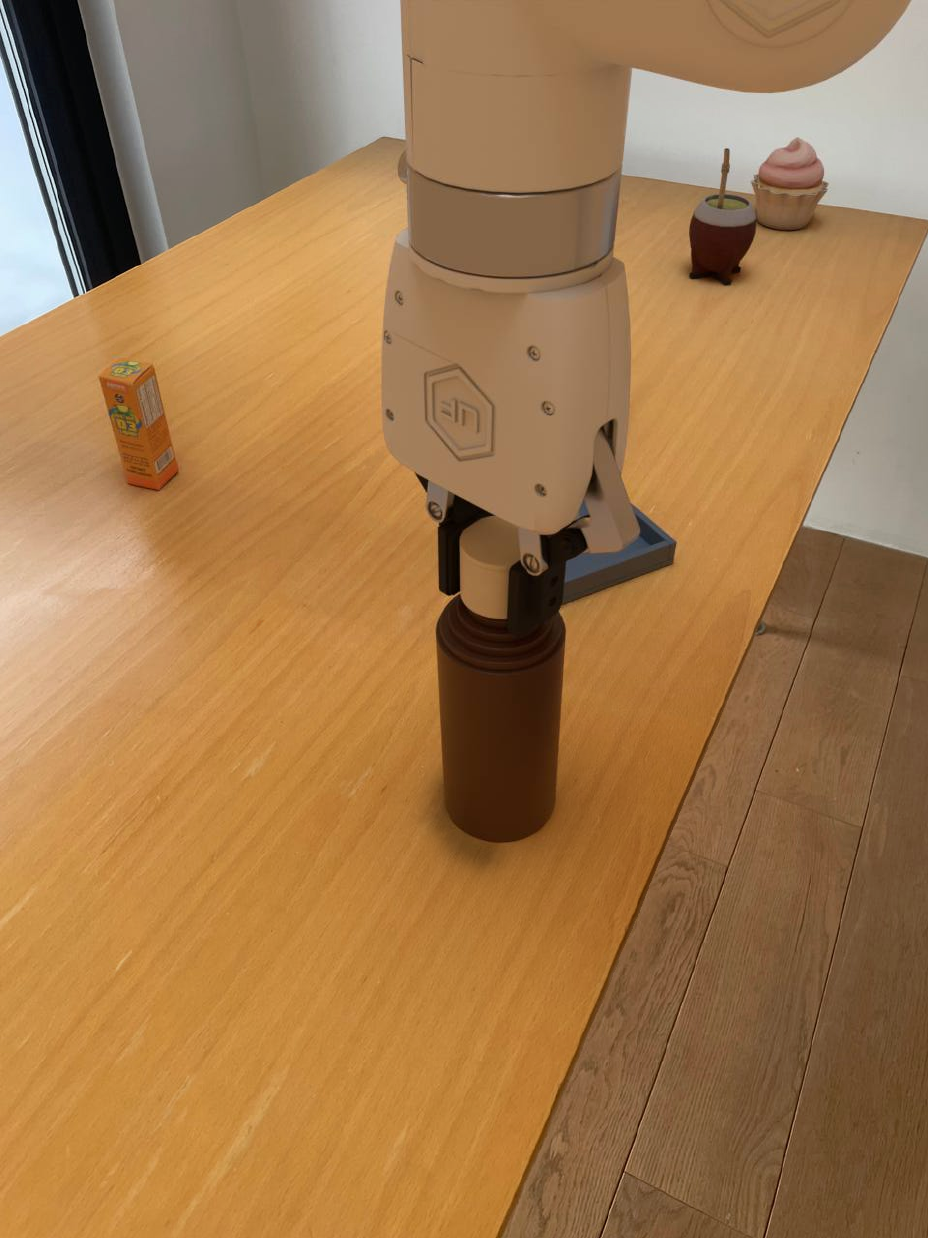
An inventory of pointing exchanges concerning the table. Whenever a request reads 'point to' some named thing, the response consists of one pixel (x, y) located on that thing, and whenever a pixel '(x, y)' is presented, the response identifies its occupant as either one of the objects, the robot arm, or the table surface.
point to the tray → (618, 560)
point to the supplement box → (139, 423)
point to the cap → (487, 565)
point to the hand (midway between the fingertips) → (499, 597)
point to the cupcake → (789, 186)
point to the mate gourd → (721, 232)
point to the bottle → (499, 721)
